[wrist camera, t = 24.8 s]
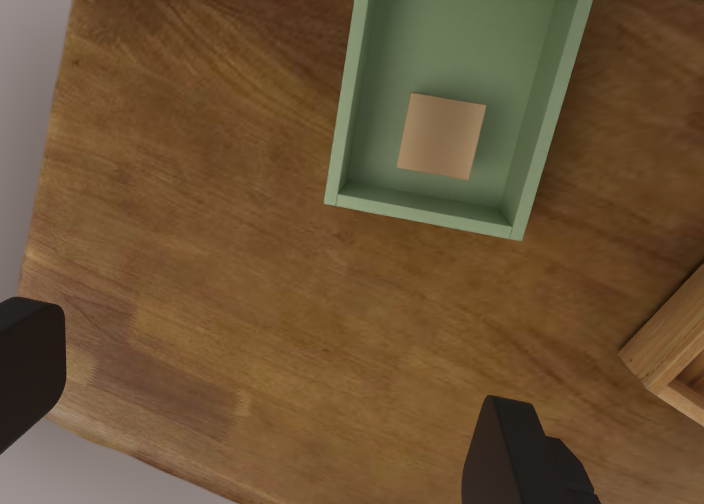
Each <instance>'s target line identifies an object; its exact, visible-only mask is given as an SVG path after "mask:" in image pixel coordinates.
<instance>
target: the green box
mask: <svg viewBox="0 0 704 504" xmlns="http://www.w3.org/2000/svg"><path fill="white" fill-rule="evenodd" d="M592 2H593V0H354V6H353V13H352V20H351V26H350V33H349V39H348V46H347V53H346V59H345V66H344V72H343V79H342V86H341V92H340V99H339V105H338V112H337V118H336V125H335V132H334V138H333V145H332V151H331V158H330V165H329V171H328V178H327V184H326V191H325V198H324V204H328V205H333V206H338V207H344V208H349V209H354V210H359V211H365V212H370V213H375V214H381V215H386V216H391V217H396V218H402V219H407V220H412V221H417V222H423V223H428V224H433V225H438V226H444V227H449V228H454V229H459V230H465V231H470V232H475V233H481V234H486V235H491V236H496V237H502V238H507V239H512V240H517V241H522V239H523V236H524V232H525V229H526V226H527V222H528V219H529V215H530V212H531V209H532V205H533V202H534V199H535V195H536V192H537V188H538V185H539V182H540V178H541V175H542V171H543V168H544V165H545V161H546V158H547V154H548V151H549V148H550V144H551V141H552V137H553V134H554V131H555V127H556V124H557V121H558V117H559V114H560V110H561V107H562V104H563V100H564V97H565V93H566V90H567V87H568V83H569V80H570V76H571V73H572V70H573V66H574V63H575V59H576V56H577V53H578V49H579V46H580V42H581V39H582V36H583V32H584V29H585V26H586V22H587V19H588V15H589V12H590V9H591V5H592ZM411 92H412V93H418V94H424V95H430V96H436V97H442V98H448V99H454V100H460V101H466V102H472V103H478V104H483V105H486V110H485V115H484V119H483V123H482V127H481V131H480V135H479V140H478V144H477V148H476V152H475V156H474V161H473V165H472V169H471V173H470V177H469V180H463V179H458V178H452V177H446V176H441V175H435V174H429V173H424V172H418V171H412V170H407V169H401V168H397V161H398V155H399V150H400V145H401V139H402V134H403V129H404V124H405V118H406V113H407V108H408V102H409V97H410V93H411Z"/></svg>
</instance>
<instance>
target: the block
mask: <svg viewBox="0 0 704 504" xmlns="http://www.w3.org/2000/svg"><path fill="white" fill-rule="evenodd" d="M485 110H486V105H483V104H478V103H472V102H466V101H460V100H454V99H448V98H442V97H436V96H430V95H424V94H418V93H412V92H411V93H410V97H409V102H408V108H407V113H406V118H405V124H404V129H403V134H402V139H401V145H400V150H399V155H398V161H397V168H401V169H407V170H412V171H418V172H424V173H429V174H435V175H441V176H446V177H452V178H458V179H463V180H469V177H470V173H471V169H472V165H473V161H474V156H475V152H476V148H477V144H478V140H479V135H480V131H481V127H482V123H483V119H484V115H485Z"/></svg>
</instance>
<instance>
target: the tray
mask: <svg viewBox="0 0 704 504" xmlns="http://www.w3.org/2000/svg"><path fill="white" fill-rule="evenodd" d="M618 356H619V357H620V359H621V360H622V361H623V363H624V364H625V365H626V366H627V367H628V368H629V370H630V371H631V372H632V373H633V374H634V375H635V377H636V378H637V379H638V380H639V381H640V382H641V383H642V385H643V386H644V387H645V388H646V389H647V390H649V391H650V392H652V393H653V394H655V395H656V396H658V397H659V398H661V399H662V400H664V401H665V402H667V403H668V404H670V405H671V406H673V407H674V408H676V409H677V410H679V411H680V412H682V413H684V414H685V415H687V416H688V417H690V418H691V419H693V420H694V421H696V422H697V423H699V424H700V425H702V426H703V427H704V263H703V264H702V265H701V266H700V267H699V268H698V269H697V270H696V271H695V272H694V273H693V274H692V275H691V277H690V278H689V279H688V280H687V281H686V282H685V283H684V284H683V285H682V286H681V287H680V288H679V289H678V290H677V291H676V292H675V293H674V294H673V295H672V297H671V298H670V299H669V300H668V301H667V302H666V303H665V304H664V305H663V306H662V307H661V308H660V309H659V310H658V311H657V312H656V313H655V314H654V316H653V317H652V318H651V319H650V320H649V321H648V322H647V323H646V324H645V325H644V326H643V327H642V328H641V329H640V330H639V331H638V332H637V333H636V334H635V335H634V336H633V337H632V338H631V339H630V340H629V341H628V342H627V344H626V345H625V346H624V347H623V348H622V349H621V350H620V351H619V352H618Z"/></svg>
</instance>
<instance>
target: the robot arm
mask: <svg viewBox="0 0 704 504" xmlns="http://www.w3.org/2000/svg"><path fill="white" fill-rule="evenodd" d="M65 383H66V340H65V315H64V312H63V310H62V308H61V307H60V306H59V305H56V304H52V303H47V302H42V301H37V300H33V299H28V298H23V297H12V298H9V299H7V300H5V301H3V302H2V303H0V454H2V453H3V452H4V451H5V450H6V449H7V448H8V447H10V446H11V445H12V444H13V443H14V442H15V441H16V440H17V439H19V438H20V437H21V436H22V435H23V434H24V433H25V432H26V431H28V430H29V429H30V428H31V427H32V426H33V425H34V424H36V422H38V421H39V420H40V419H41V418H42V417H43V416H45V415H46V414H47V413H48V412H49V411H50V410H51V409H52V408H53V407H54V406H55V404H56V403H57V402H58V400H59V398H60V396H61V394H62V392H63V390H64V387H65ZM461 495H462V504H601V503H600V501H599V499H598V497H597V495H596V494H594V488H593V486H592V484H591V482H590V480H589V477H588V475H587V473H586V471H585V469H584V467H583V465H582V463H581V462H580V461H579V460H578V459H577V457H576V456H575V455H574V454H573V453H572V452H571V451H570V450H569V449H568V448H567V447H566V445H565V444H564V443H563V442H562V441H561V440H560V439H558V438H553V437H548V436H545V434H544V431H543V429H542V426H541V424H540V421H539V419H538V416H537V414H536V411H535V409H534V407H533V405H532V404H530V403H527V402H522V401H517V400H512V399H507V398H502V397H498V396H493V395H488V396H487V397H486V398H485V400H484V402H483V405H482V408H481V411H480V414H479V418H478V421H477V424H476V428H475V431H474V434H473V438H472V441H471V444H470V447H469V451H468V454H467V457H466V461H465V464H464V469H463V476H462V488H461Z"/></svg>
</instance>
